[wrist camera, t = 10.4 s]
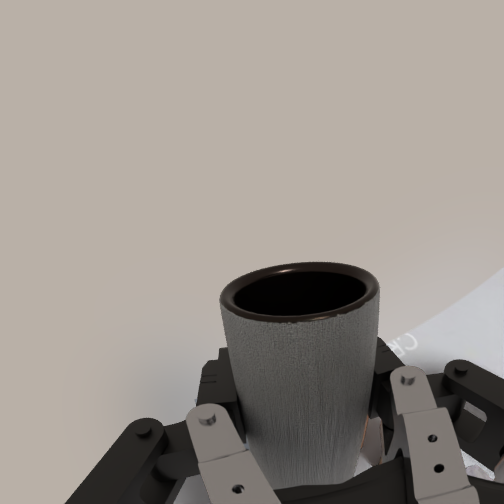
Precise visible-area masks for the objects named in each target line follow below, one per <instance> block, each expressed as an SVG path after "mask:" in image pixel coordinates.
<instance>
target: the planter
mask: <svg viewBox="0 0 504 504" xmlns="http://www.w3.org/2000/svg"><path fill="white" fill-rule="evenodd" d="M379 298H380V287H379V283H378V281H377V279H376V278H375V277H374V276H373V275H372V274H371V273H370V272H368V271H366V270H364V269H361V268H359V267H356V266H352V265H348V264H342V263H332V262H301V263H291V264H283V265H278V266H272V267H268V268H264V269H260V270H256V271H253V272H250V273H248V274H246V275H243V276H241V277H239V278H237V279H235V280H233V281H232V282H230V283H229V284H228V285H227V286H226V287H225V288H224V289H223V291H222V292H221V295H220V299H219V301H220V308H221V314H222V319H223V325H224V330H225V336H226V341H227V346H228V351H229V357H230V362H231V367H232V371H233V376H234V381H235V386H236V390H237V395H238V399H239V404H240V409H241V413H242V418H243V422H244V426H245V431H246V435H247V440H248V444H249V448H250V452H251V453H252V455H253V457H254V459H255V460H256V462H257V464H258V466H259V467H260V469H261V471H262V473H263V474H264V476H265V478H266V479H267V481H268V483H269V485H270V486H271V488H272V489H273V490H275V489H282V488H289V487H295V486H300V485H329V484H340V483H343V482H345V481H347V480H349V479H351V478H353V475H354V472H355V468H356V464H357V460H358V456H359V452H360V448H361V443H362V439H363V434H364V429H365V424H366V419H367V413H368V408H369V402H370V395H371V389H372V381H373V374H374V366H375V357H376V346H377V335H378V320H379Z"/></svg>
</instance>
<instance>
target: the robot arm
mask: <svg viewBox="0 0 504 504" xmlns="http://www.w3.org/2000/svg"><path fill="white" fill-rule="evenodd" d="M466 401H467V402H469V403H471V404H472V405H474V406H475V407H477V408H479V409H480V410H482V411H484V412H485V414H486V416H487V421H486V422H484V421H482V420H481V419H479V418H478V417H476V416H474V415H473V414H471V413H470V412H468V411H467V410H465V409H463V408H464V405H465V403H466ZM367 414H368V416H369V418H370V419H372V418H375V417H378V416H379V417H380V418H381V424H380V435H381V448H382V464H380V465H377V466H374V467H371V468H369V469H368V470H366V471H364V472H362V473H360V474H359V475H357V476H355V477H353V478H351V479H349V480H347V481H345V482H343V483H340V484H329V485H300V486H295V487H289V488H282V489H275V490H273V489H272V488H271V486H270V485H269V483H268V481H267V479H266V478H265V476H264V474H263V473H262V471H261V469H260V467H259V466H258V464H257V462H256V460H255V459H254V457H253V455H252V453H251V452H250V450H249V449H246V448H245V446H244V444H246V443H247V441H246V431H245V426H244V422H243V418H242V413H241V409H240V404H239V399H238V395H237V390H236V386H235V381H234V376H233V371H232V367H231V362H230V357H229V351H228V347H225V348H220V349H219V357H218V360H209V361H208V362H207V363H206V364H205V366H204V367H203V368H202V374H201V380H200V386H199V392H198V397H197V403H196V407H195V408H193V409H192V410H191V411H190V412H189V413H188V415H187V417H186V420H184V421H182V422H179V423H176V424H172V425H168V426H163V425H162V423H161V422H159V421H158V420H156V419H153V418H142V419H138V420H135V421H134V422H132V423H131V424H129V425H128V427H127V428H126V429H125V430H124V431H123V433H122V434H121V435H120V436H119V438H118V439H117V440H116V441H115V443H114V444H113V445H112V446H111V448H110V449H109V450H108V451H107V453H106V454H105V455H104V456H103V457H102V459H101V460H100V461H99V462H98V464H97V465H96V466H95V467H94V469H93V470H92V471H91V472H90V473H89V475H88V476H87V477H86V478H85V480H84V481H83V482H82V483H81V484H80V486H79V487H78V488H77V489H76V490H75V492H74V493H73V494H72V495H71V497H70V498H69V499H68V500H67V502H66V503H65V504H173V502H174V500H175V499H176V497H177V495H178V493H179V491H180V489H181V487H182V485H183V483H184V481H185V480H186V477H190V476H194V475H198V474H201V476H202V479H203V482H204V484H205V487H206V490H207V493H208V495H209V498H210V501H211V503H212V504H504V379H502V378H500V377H498V376H496V375H494V374H493V373H491V372H489V371H487V370H485V369H483V368H481V367H479V366H477V365H475V364H473V363H471V362H469V361H466V360H460V359H459V360H453V361H450V362H449V363H447V364H446V366H445V369H444V373H439V374H432V375H426V374H425V373H424V371H422V370H421V369H419V368H417V367H414V366H405V365H404V364H403V363H402V361H401V360H400V359H399V358H398V357H397V356H396V355H395V354H394V352H393V351H391V349H390V348H389V347H388V346H386V344H385V342H384V341H383V340H382V339H381V338H379V337H377V346H376V357H375V366H374V374H373V381H372V389H371V395H370V402H369V408H368V413H367ZM460 449H462V450H463V451H464V452H466V453H467V454H469V455H470V456H471V457H473V458H474V459H476V460H477V461H478V462H480V463H481V464H483V465H484V466H486V467H487V468H488V469H490V470H491V471H493V472H494V475H495V478H494V480H493V481H490V480H486V479H482V478H478V477H474V476H470V475H467V473H466V469H465V465H464V461H463V458H462V454H461V450H460Z"/></svg>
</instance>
